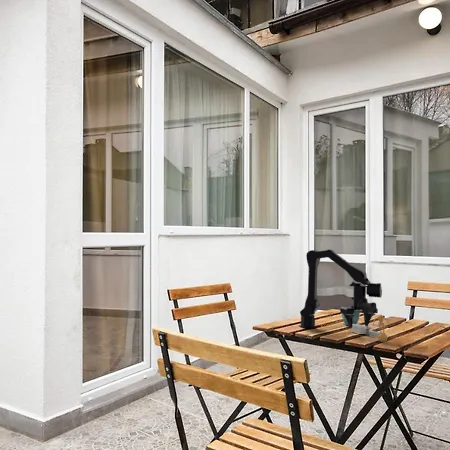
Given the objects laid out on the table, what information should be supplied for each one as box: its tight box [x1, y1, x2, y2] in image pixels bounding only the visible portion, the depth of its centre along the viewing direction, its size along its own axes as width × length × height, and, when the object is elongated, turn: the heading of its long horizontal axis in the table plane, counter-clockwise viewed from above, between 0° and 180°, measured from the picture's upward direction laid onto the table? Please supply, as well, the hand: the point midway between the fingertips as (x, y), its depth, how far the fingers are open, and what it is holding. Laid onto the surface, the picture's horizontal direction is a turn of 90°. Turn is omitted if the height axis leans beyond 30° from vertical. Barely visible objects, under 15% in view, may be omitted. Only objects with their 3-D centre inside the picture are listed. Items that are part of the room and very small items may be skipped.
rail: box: [349, 327, 380, 338], centre depth 230 cm, size 6×20×3 cm, turn 23°
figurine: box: [372, 314, 392, 343], centre depth 211 cm, size 8×6×12 cm
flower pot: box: [341, 306, 361, 326], centre depth 251 cm, size 9×9×9 cm
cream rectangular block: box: [350, 323, 368, 335], centre depth 229 cm, size 7×4×4 cm, turn 23°
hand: (358, 327), depth 229 cm, fingers open, 9 cm apart
